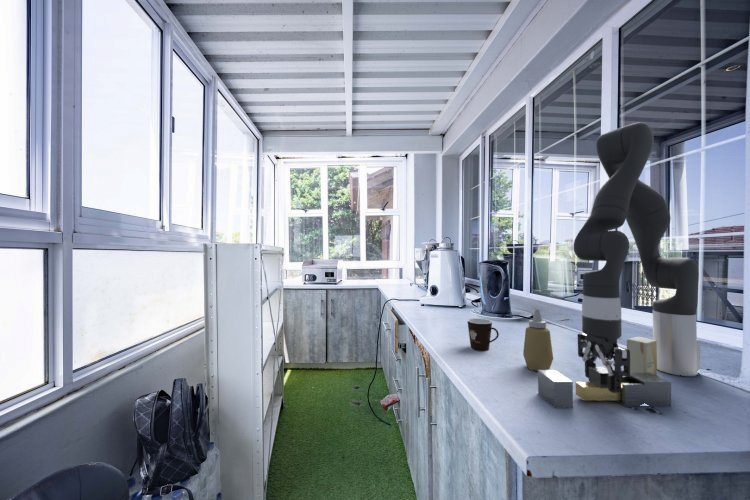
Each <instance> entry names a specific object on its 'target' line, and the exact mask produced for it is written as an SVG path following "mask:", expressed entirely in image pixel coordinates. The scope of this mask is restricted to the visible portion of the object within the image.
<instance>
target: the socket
mask: <svg viewBox="0 0 750 500" xmlns="http://www.w3.org/2000/svg"><path fill="white" fill-rule="evenodd" d="M573 385H574V382H573V381H572V380H571V379H570V378H568V377H567V376H565V375H564V374H562V373H560V372H559V371H557V370H556V369H549V370H538V371H537V393H538V395H539V396H540V397H541V398H542V399H543V400H544V401H546V403H548V404H549V405H550V406H551V407H552V408H553V409H573V408H574V386H573Z"/></svg>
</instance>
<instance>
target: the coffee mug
mask: <svg viewBox="0 0 750 500" xmlns="http://www.w3.org/2000/svg"><path fill="white" fill-rule="evenodd" d="M466 320H467V328H468V336H469V343H470V344H469V345H470V349H471V350H474V351H478V352H487V351H489V350H490V346H491V345H490V344H491V343H493V342H495V341H496V340H497V339H498V338H499V335H500V333H499V330H498V329H497V328H496V327H492V326H493V325H492V324H493V320H490V319H486V318H470V319H466ZM492 330H493V331H494V332H495V333H496V336H495V337H494V338H493V339H491V337H492V336H491V335H492Z"/></svg>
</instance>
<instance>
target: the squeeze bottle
mask: <svg viewBox="0 0 750 500" xmlns="http://www.w3.org/2000/svg"><path fill="white" fill-rule="evenodd" d="M524 331H525V333H524V342H523V343H524V344H523V350H522V351H523V354H522V355H523V358H524V361H525V364H526V366H527V368H528V369H529V370H532V371H536V372H538V370H551V366H552V363H553V360H554V354H553V353H554V352H553V347H552V346H553V345H552V337H551V331H550V329H549V328H547V321H545V320H543V318H542V313H541V310H540V308H535V309H534V313H533V317H532V319H529V320H528V326H527V327H526V328H525V330H524Z"/></svg>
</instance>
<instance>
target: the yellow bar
mask: <svg viewBox="0 0 750 500" xmlns="http://www.w3.org/2000/svg"><path fill="white" fill-rule="evenodd" d="M608 375H609V373H608V370H607V368H606V367H604V366H596V367H589V378H588V381H575V395H576V396H577V397H579V399H582V401H616V400H622V383H640V382H621V391H620V392H619V393H612V392H610V391H609V389H608Z"/></svg>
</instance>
